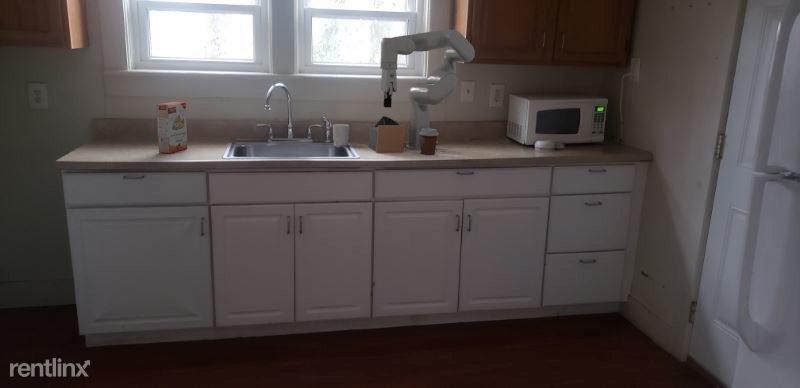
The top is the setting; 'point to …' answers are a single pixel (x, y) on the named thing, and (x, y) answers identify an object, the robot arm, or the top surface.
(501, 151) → the top surface
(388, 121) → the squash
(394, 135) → the side door
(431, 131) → the coffee cup
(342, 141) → the white cup
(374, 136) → the case
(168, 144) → the cracker box
